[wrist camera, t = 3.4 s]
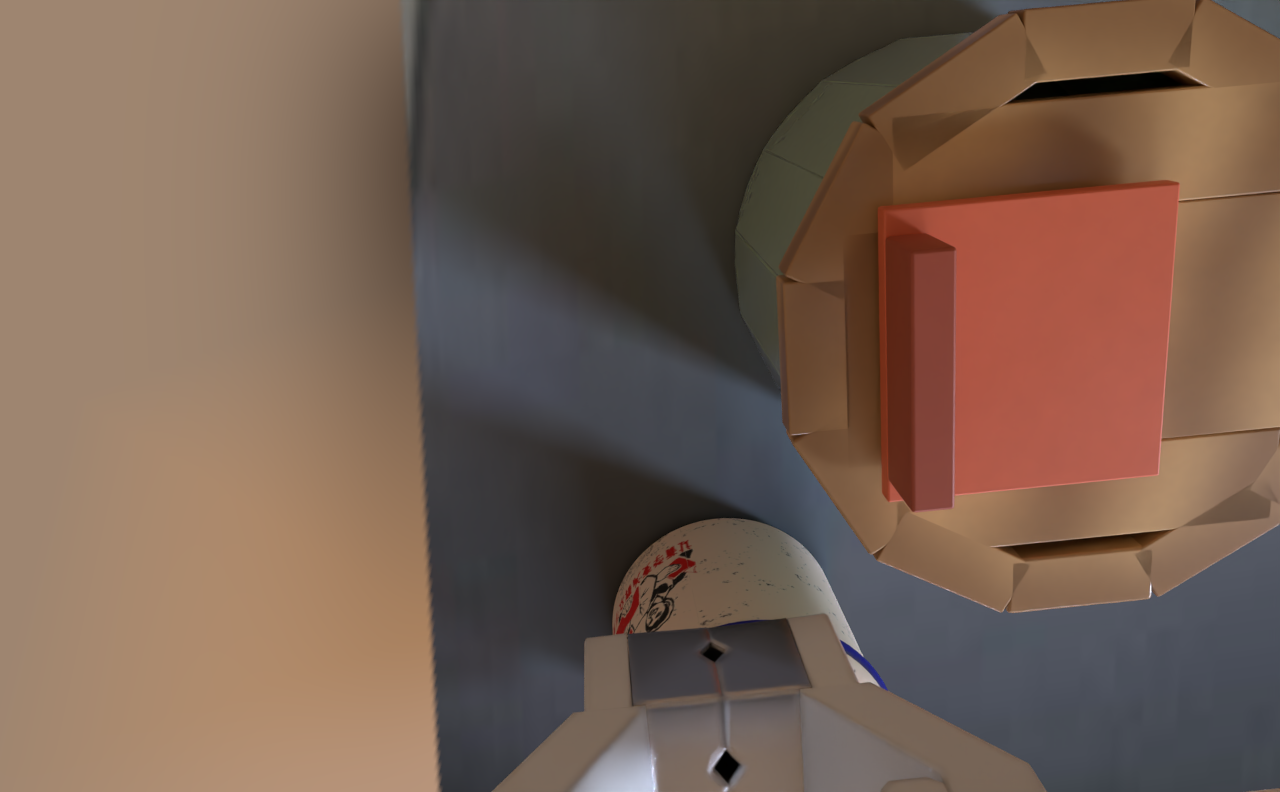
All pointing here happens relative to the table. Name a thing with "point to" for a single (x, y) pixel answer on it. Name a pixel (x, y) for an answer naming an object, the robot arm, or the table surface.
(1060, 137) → the round tan lid
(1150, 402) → the slider
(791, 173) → the green round box
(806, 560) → the teacup with lid
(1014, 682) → the table surface
